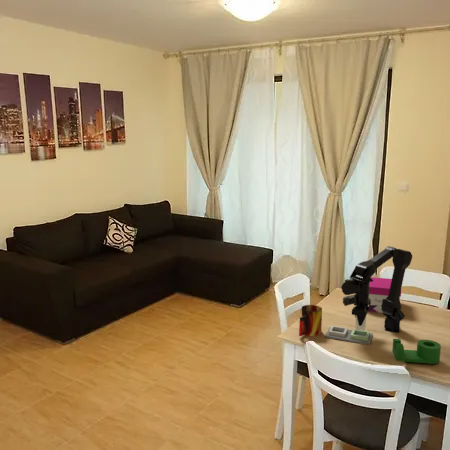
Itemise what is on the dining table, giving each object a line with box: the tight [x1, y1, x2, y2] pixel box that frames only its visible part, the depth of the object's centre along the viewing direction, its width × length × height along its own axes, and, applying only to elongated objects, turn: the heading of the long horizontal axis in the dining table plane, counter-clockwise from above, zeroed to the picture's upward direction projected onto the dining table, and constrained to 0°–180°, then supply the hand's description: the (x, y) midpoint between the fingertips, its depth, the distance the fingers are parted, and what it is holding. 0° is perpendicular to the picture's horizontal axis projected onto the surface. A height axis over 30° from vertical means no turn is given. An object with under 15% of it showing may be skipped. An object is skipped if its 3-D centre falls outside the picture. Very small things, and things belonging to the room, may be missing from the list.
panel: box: [324, 325, 374, 346], centre depth 213 cm, size 20×12×2 cm, turn 66°
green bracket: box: [392, 338, 442, 365], centre depth 191 cm, size 18×9×6 cm, turn 81°
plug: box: [354, 315, 367, 331], centre depth 210 cm, size 5×4×8 cm
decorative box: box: [368, 276, 402, 314], centre depth 247 cm, size 19×19×15 cm
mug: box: [298, 304, 323, 337], centre depth 215 cm, size 10×14×12 cm
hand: (360, 323), depth 210 cm, fingers closed on plug, 4 cm apart
